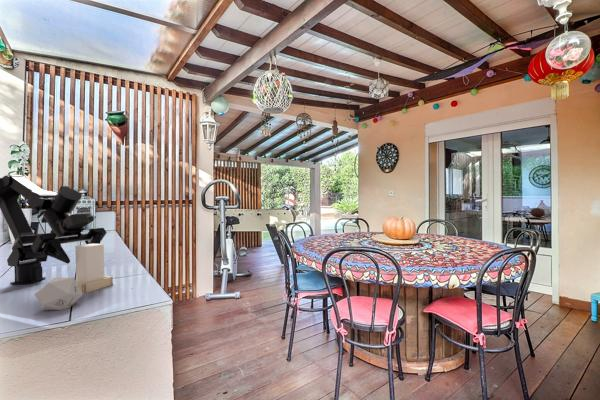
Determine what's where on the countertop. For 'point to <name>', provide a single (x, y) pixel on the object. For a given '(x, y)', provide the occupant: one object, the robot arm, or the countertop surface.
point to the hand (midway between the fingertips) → (85, 259)
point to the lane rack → (96, 284)
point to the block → (89, 263)
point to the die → (59, 294)
